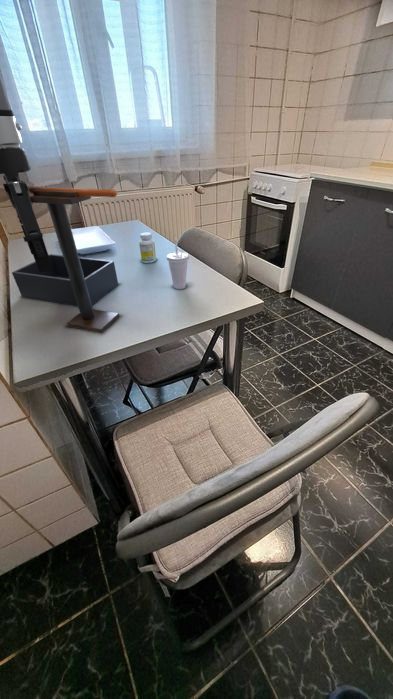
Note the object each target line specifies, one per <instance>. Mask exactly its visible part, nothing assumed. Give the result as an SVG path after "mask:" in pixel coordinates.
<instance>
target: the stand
mask: <svg viewBox="0 0 393 699" xmlns="http://www.w3.org/2000/svg"><path fill="white" fill-rule="evenodd" d="M32 192H33V194H32V195H29V196H30V199H31V202H32V204H33V203H34V204H46V205H47V208H48V211H49V215H50V219H51V222H52V225H53V228H54V232H55V235H56V238H57V241H58V245H59V248H60V251H61V255H63V258H64V261H65V265H66V268H67V271H68V275H69V278H70V281H71V284H72V288H73V291H74V294H75V298H76V301H77V304H78V306H77V307H78V310H79V313H78V314H77V315H75V316H74V317H72V318H71V319H70V320H69V321H68V322H66V325H67V327H70V328H75V329H80V330H84V331H85V330H86V331H90V332H91V331H92V332H95V333H104V331H105V330H107V329H108V328H109V327H110V326H111V325H113V323H115V321H117V319H119V317H120V313H119V312H113V311H108V310H101V309H95V308H93V305H92V304H91V300H90V296H89V293H88V289H87V285H86V282H85V278H84V274H83V270H82V267H81V263H80V259H79V257H80V256H79V253H78V252H77V248H76V245H75V241H74V237H73V233H72V230H71V229H72V226H71V223H70V218H69V216H68V212H67V207H66V205H70V206H71V205H75V204H78V203H81V202H84V201H87V200H91V199H92V196H77V192H65V191H38V190H34V191H32Z"/></svg>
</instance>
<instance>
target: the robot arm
mask: <svg viewBox="0 0 393 699" xmlns="http://www.w3.org/2000/svg"><path fill="white" fill-rule="evenodd" d="M16 121H17V120H16V118H15V113H14V111H13V106H12V104H11V100H10V97H9V94H8V91H7V87H6V84H5V81H4V77H3V74H2V70H1V69H0V175H2V176H3V180H4V182H5V183H2V186H3V189H4V191H5V194H6V196H7V197H8V199H9V202H10V203H11V206H12V208H13V209H14V210H15V211H16V214H17V218H18V221H19V223H20V224H21V225H20V227H21V229H22V232H23V234H24V235H23V237H22V238H23V241H24V242H25V243H27V246H28V249H29V251H30V254H31V255H32V256H33V259H34V262H36V265H37V267H38V270H39V273H42V272H47V271H52V270H53V267H52V264H51V261H50V258H49V255H50V254H49V253H48V249H47V246H46V242H45V240H44V234H43V232H42V231H41V228H40V226H39V223H38V220H37V218H36V215H35V211H34V209H33V203H32V202H31V199H30V196H31V195H30V192H29V187H28V185H27V183H26V181H23V180H21V178H20V175H19V174H20V173H26V172H29V171H31V169H32V167H31V163H30V160H29V158H28V154H27V151H26V149H25V148H24V147H21V145H22V144H23V138H22V136H21V133H20V131H22V129H23V126H22V125H21V123H16Z"/></svg>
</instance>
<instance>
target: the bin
mask: <svg viewBox="0 0 393 699" xmlns="http://www.w3.org/2000/svg"><path fill="white" fill-rule="evenodd" d="M48 255H49V258H50V261H51V264H52V267H53V270H52V271H47V272H42V273H39V270H38V267H37V265H36V262H35V261H32V262H31V263H29V264H26V265H25V266H22V267H20V268H18V269H16V270H14V271H12V272H11V275H12V276H13V279H14V281H15V283H16V286H17V288H18V291H19V293H20V296H21V297H22V298H27V299H33V300H38V301H39V300H40V301H45V302H52V303H58V304H63V305H70V306H75V307H78V304H77V301H76V298H75V294H74V291H73V288H72V284H71V281H70V278H69V275H68V271H67V268H66V265H65V261H64V258H63V255H62V254H52V253H50V254H48ZM79 259H80V263H81V267H82V270H83V274H84V278H85V282H86V285H87V289H88V293H89V296H90V300H91V304H92V306H93V305H94V304H95V303H97V302H98V301H99V300H101V299H102V298H103V297H104V296H106V295H107V294H108V293H110V292H111V291H112V290H114V289H115V288H116V287H118V286H119V281H118V275H117V270H116V266H115V261H114V260H108V259H98V258H89V257H80V256H79Z"/></svg>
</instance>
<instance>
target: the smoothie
mask: <svg viewBox="0 0 393 699" xmlns="http://www.w3.org/2000/svg"><path fill="white" fill-rule="evenodd" d="M174 245H175V247H174V248H175V251H173V252H170V253H168V254H167V255H166V260H167V262H168V267H169V271H170V276H171V281H172V284H173V285H172V286H173V289H175V290H183V289H185V288H186V286H187V275H188V263H189V262H188V261H189V259H190V256H189V253H188V252H184V251H179V249H178V248H179V247H178V239H177V238H175V239H174Z"/></svg>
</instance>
